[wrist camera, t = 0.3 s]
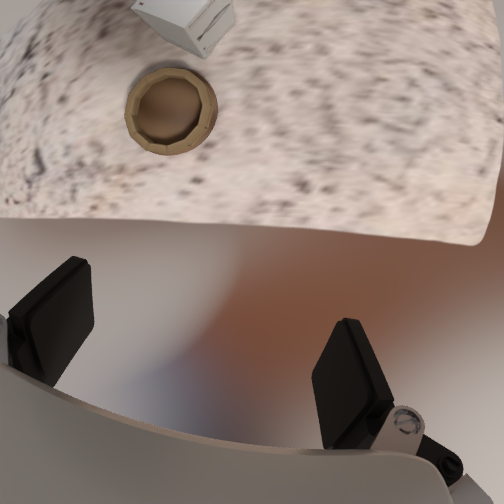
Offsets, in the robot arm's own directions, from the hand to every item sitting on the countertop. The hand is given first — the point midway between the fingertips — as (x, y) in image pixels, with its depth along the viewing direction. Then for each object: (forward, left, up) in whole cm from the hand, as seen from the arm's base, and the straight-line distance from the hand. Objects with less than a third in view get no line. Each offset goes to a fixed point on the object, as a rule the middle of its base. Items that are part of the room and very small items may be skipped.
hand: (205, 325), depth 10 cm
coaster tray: (-8, -12, -30) cm, 33 cm away
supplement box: (-20, -11, -31) cm, 38 cm away
